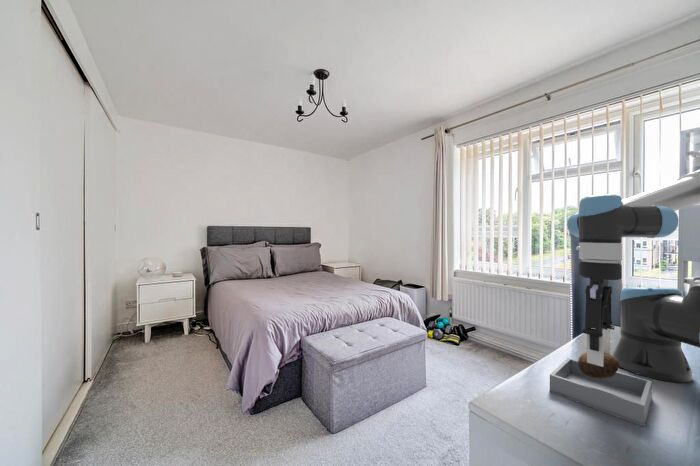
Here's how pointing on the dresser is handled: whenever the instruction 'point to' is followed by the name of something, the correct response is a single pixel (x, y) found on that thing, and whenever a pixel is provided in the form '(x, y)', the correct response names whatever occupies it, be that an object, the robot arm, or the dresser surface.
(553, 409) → the dresser surface
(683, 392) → the dresser surface
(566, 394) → the tray
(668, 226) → the robot arm
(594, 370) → the mushroom
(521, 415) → the dresser surface
